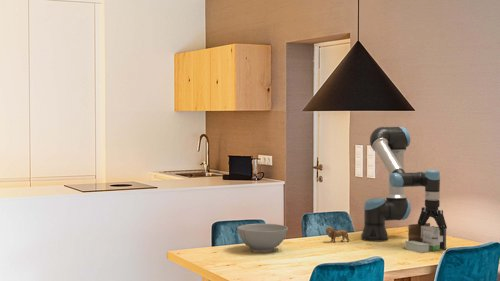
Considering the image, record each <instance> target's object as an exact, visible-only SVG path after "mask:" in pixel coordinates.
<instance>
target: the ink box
mask: <svg viewBox="0 0 500 281" xmlns="http://www.w3.org/2000/svg"><path fill="white" fill-rule="evenodd" d="M431 226H432V225H430V226H424V227H423V243H426V244H429V250H432V251H435V252H438V251H437V250H440V242H438V229H439V228H436V227H437V226H435V227H431Z"/></svg>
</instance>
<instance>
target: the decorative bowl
mask: <svg viewBox="0 0 500 281" xmlns="http://www.w3.org/2000/svg"><path fill="white" fill-rule="evenodd" d="M236 229H237V233H238V234H239V238H240V239H241V241H242V242H243V243H244V245H245V246H247V247H248V248H250V250H251V251H252V252H254V251H255V252H256V253H271V252H274V251H275V248H278V247H279V246H280V245H281V244H282V243H283V242H284V240H285V238H286V236H287V234H288V230H289V227H288V226H286V225H282V224H276V223H249V224H241V225H238V226H237V228H236ZM270 251H271V252H270Z"/></svg>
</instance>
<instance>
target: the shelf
mask: <svg viewBox="0 0 500 281" xmlns="http://www.w3.org/2000/svg"><path fill="white" fill-rule="evenodd" d="M424 226H431V223H430V222H426V224H425V225H424ZM407 227H408V228H407V229H408V233H407V234H408V238H407V241H417V242H422V243H423V238H421V231H420V224H418V223H414V224H413V223H412V224H408V226H407ZM403 249H404V250H406V249H405V246H404V247H402V250H403ZM442 251H443V252H445V250H444V249H440V250H437V251H432V250H429V252H424V253H423V254H425V253H435V252H442Z"/></svg>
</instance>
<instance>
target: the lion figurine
mask: <svg viewBox="0 0 500 281" xmlns="http://www.w3.org/2000/svg"><path fill="white" fill-rule="evenodd" d="M325 233H326V235H327V236H328V238H330V243H334V244H335V243H336V238H339V237H341V238H342V240H340V242H343V241H344V240H345V239H346V243H349V242H350V241H351V239H350V237H349V234H348V231H347V230H344V229H342V230H336V229H335V228H334V227H332V226H327V227H326V229H325Z"/></svg>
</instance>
